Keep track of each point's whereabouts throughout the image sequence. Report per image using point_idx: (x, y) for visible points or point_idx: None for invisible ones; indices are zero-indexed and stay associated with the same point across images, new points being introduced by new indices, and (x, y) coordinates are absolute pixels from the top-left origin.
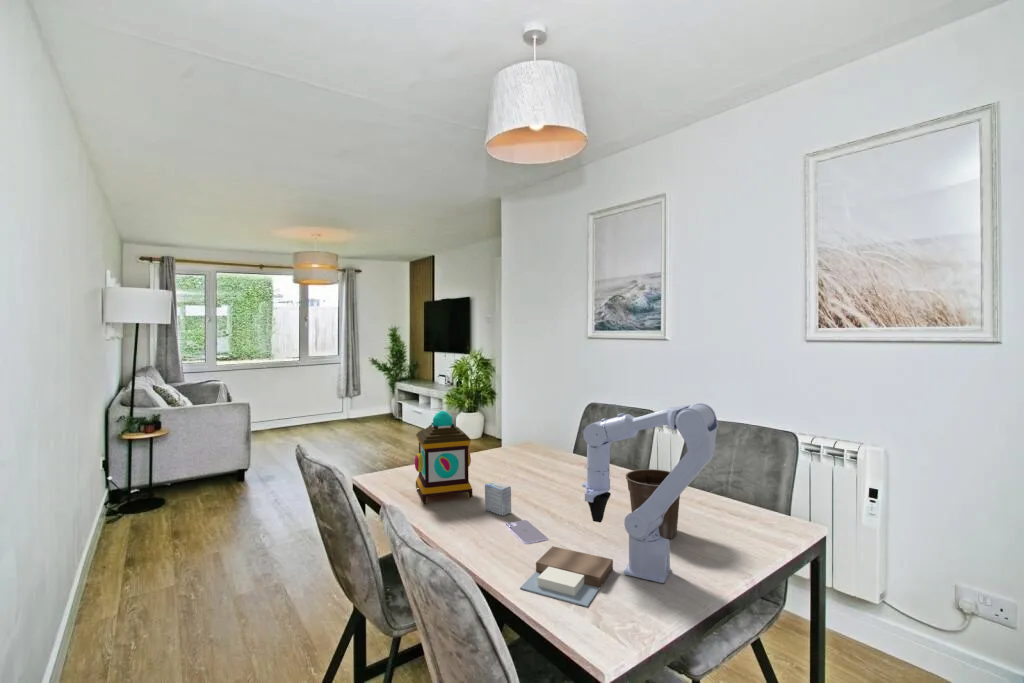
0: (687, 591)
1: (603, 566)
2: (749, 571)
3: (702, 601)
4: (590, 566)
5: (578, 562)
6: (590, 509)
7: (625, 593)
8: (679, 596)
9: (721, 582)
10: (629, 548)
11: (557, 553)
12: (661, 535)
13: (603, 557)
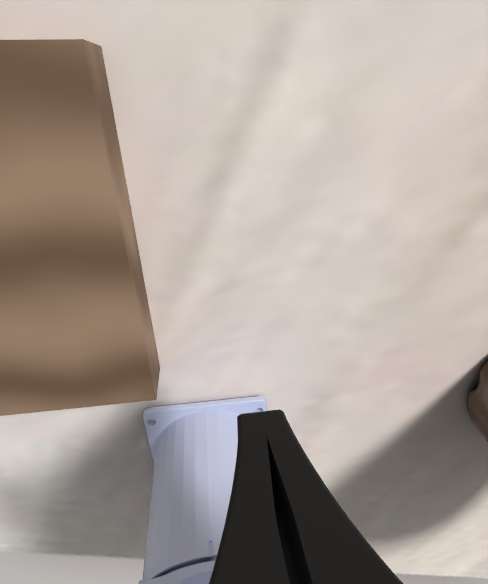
0: None
1: (65, 396)
2: None
3: (137, 550)
4: (17, 359)
5: (7, 299)
6: (225, 522)
7: (28, 445)
8: (125, 522)
9: None
10: (174, 498)
11: (4, 138)
12: (478, 427)
13: (148, 367)
